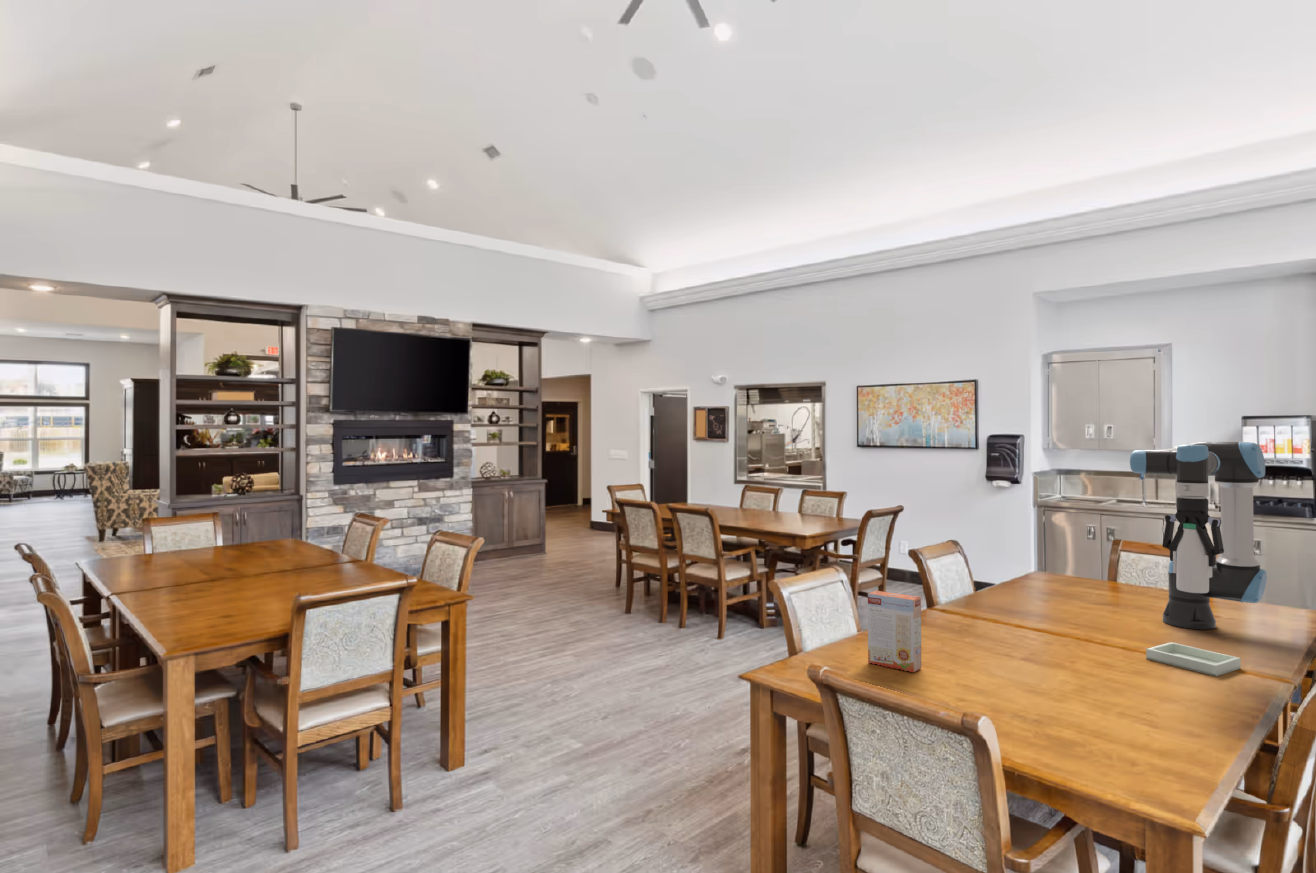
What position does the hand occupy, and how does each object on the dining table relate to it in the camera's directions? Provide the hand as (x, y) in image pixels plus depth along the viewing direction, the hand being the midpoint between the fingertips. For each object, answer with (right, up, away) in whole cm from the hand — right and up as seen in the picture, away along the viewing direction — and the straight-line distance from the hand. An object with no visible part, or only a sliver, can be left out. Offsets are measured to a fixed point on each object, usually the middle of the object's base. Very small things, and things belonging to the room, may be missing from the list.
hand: (1192, 574), depth 210 cm
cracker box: (-88, -27, -1) cm, 92 cm away
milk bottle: (0, -5, 0) cm, 5 cm away
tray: (0, -26, 0) cm, 26 cm away
